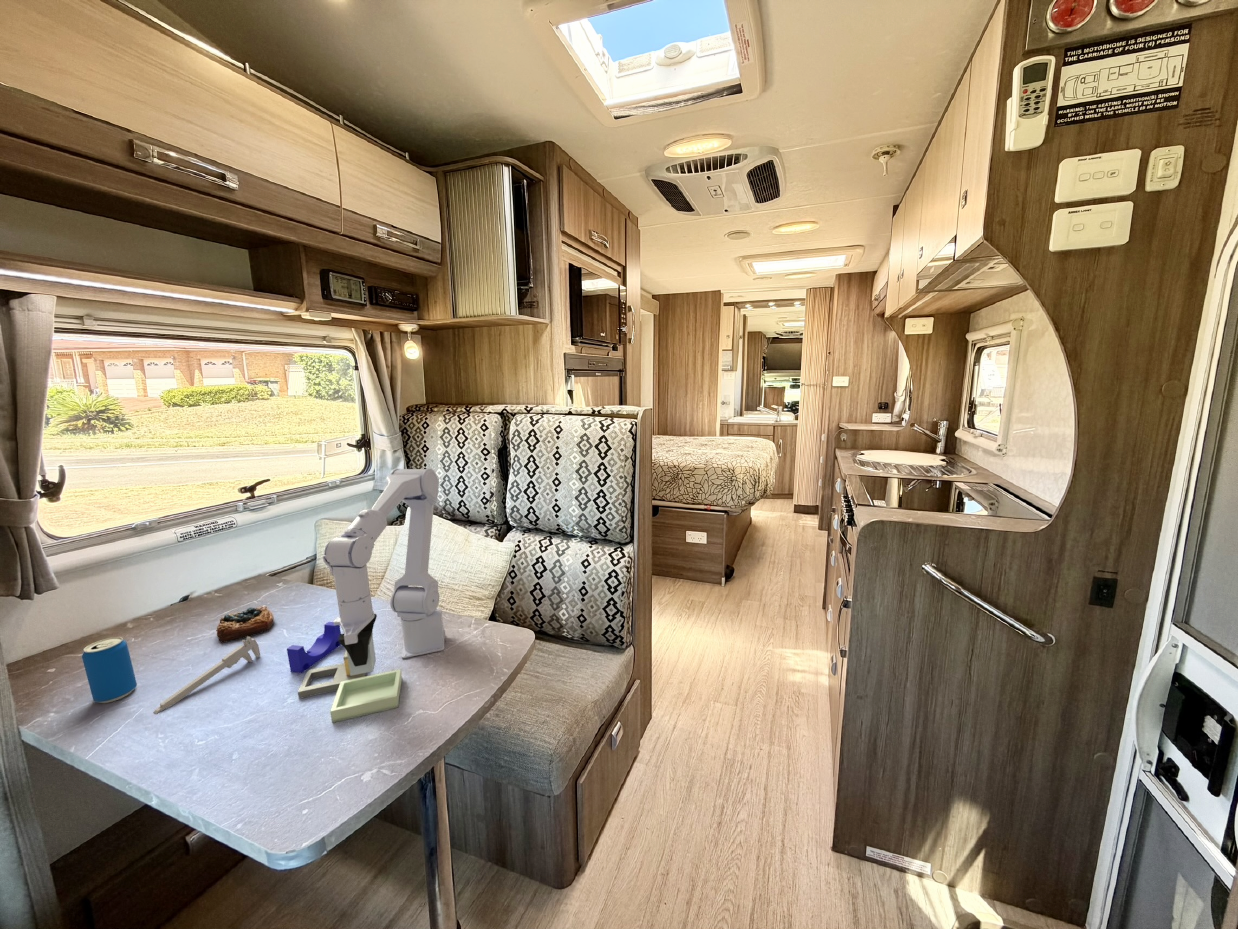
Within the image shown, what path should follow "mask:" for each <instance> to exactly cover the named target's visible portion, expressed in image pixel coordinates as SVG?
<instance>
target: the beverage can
mask: <svg viewBox="0 0 1238 929" xmlns="http://www.w3.org/2000/svg"><path fill="white" fill-rule="evenodd" d="M81 659H82V662H83V667H84V670H85V674H86V678H87V682H88V685H89V689H90V693H91V696H92V700H93V702H95V703H101V704H109V703H112V702H115V701H118V700H121V699H123V698H125V697H127V696H129V695H130V694H131V693H133V690H135V688H137V686H138V683H137V680H136V674H135V671H134V667H133V663H132V658H131V655H130V650H129V646H128V643H127V641H126V640H124V638H123V637H121V636H113V637H107V638H105V639H104V638H103V639H101V640H97V641H95V642H92V643H90V644H88V645H87V646H86V647H84V648H83V653H82V655H81Z"/></svg>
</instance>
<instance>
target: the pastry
mask: <svg viewBox="0 0 1238 929" xmlns="http://www.w3.org/2000/svg"><path fill="white" fill-rule="evenodd" d="M273 624H274V614H273V613H272V612H271V610H270V609H268V608H267V606H258V607H256V608H255V607H252V606H251V607H248V608H247V609H246V610H243V611H240V612H239V611H238V612H231V613H227V614H226V615H224V616H222V617H221V618H220V619H219V623H218V625H217V626H216V630H215V632H216V637H217V638H218V639H219V641H220V642H221V643H228V642H231V641H232V642H233V641H238V640H241V639H243V638H247V636H248V637H252V636H255V635H259V634H262V633H265V632H267V631H268V632H269V631H270V629H271V628H272V626H273Z"/></svg>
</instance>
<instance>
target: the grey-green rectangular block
mask: <svg viewBox="0 0 1238 929" xmlns="http://www.w3.org/2000/svg"><path fill="white" fill-rule="evenodd" d="M374 643H375V642H374V637H373V632H372V634H371V636H370V639H369V643H368V659H367V664H366V665H361V666H356V667H355V666H354V664H353V662H352V660H351V658H350V655H349V653H348V652H347V656H348V663H349V669H350V676H352V675H356V674H361V673H366V672H367V673H369V672H373V671H374V668H375V664H376V662H377V658H376V652H375V651H376V650H375V645H374ZM367 673H366V674H367Z"/></svg>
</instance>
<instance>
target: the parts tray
mask: <svg viewBox="0 0 1238 929" xmlns="http://www.w3.org/2000/svg"><path fill="white" fill-rule="evenodd" d="M402 682H403V675H402V669H401V668H399V669H395V670H390V671H385V672H380V673H376V674H375V673H374V674H371V675H366V677H361V678H356V679H351V680H347V681H342V682H340V685H339V688H338V690H336V693H335V697H334V700H333V703H332V706H331V709H330V710H329V711H330V713H329V714H330V717H331V718H330V719H331V723H332V724H334V723H337V722H341V721H346V720H350V719H354V718H359V717H363V716H367V715H372V714H376V713H381V712H384V711H388V710H389V711H390V710H392V709H393V710H394V709H398V708H399V704H400V696H401V690H402V689H401V688H402Z"/></svg>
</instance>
